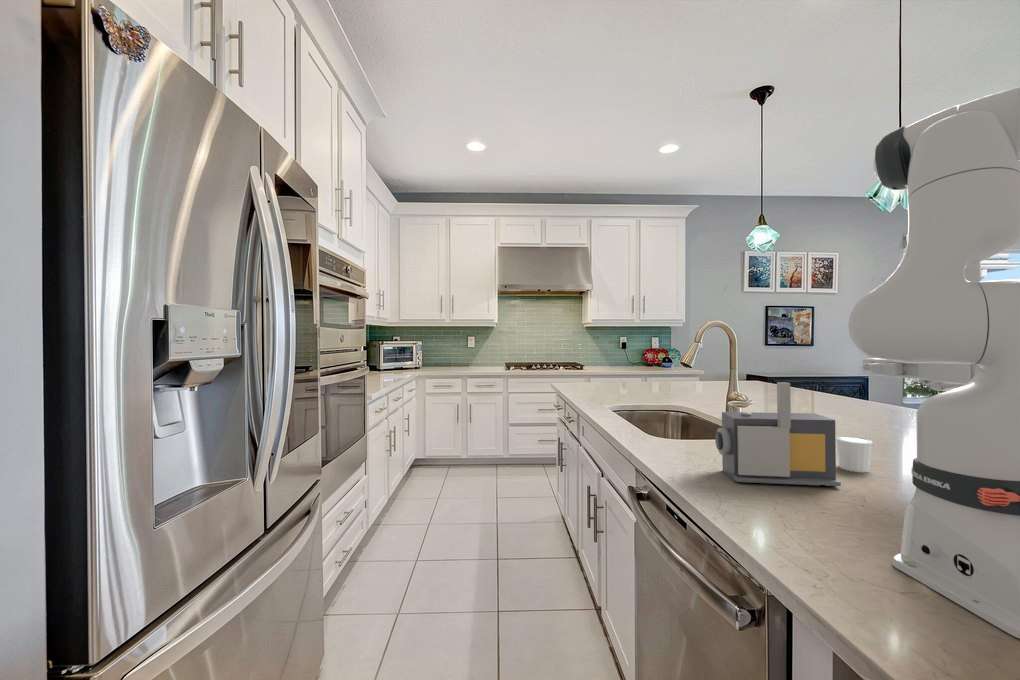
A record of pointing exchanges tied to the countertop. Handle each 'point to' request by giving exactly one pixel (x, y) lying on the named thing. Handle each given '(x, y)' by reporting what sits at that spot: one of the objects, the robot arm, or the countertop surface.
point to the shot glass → (854, 453)
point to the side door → (767, 442)
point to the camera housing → (807, 448)
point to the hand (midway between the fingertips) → (866, 368)
